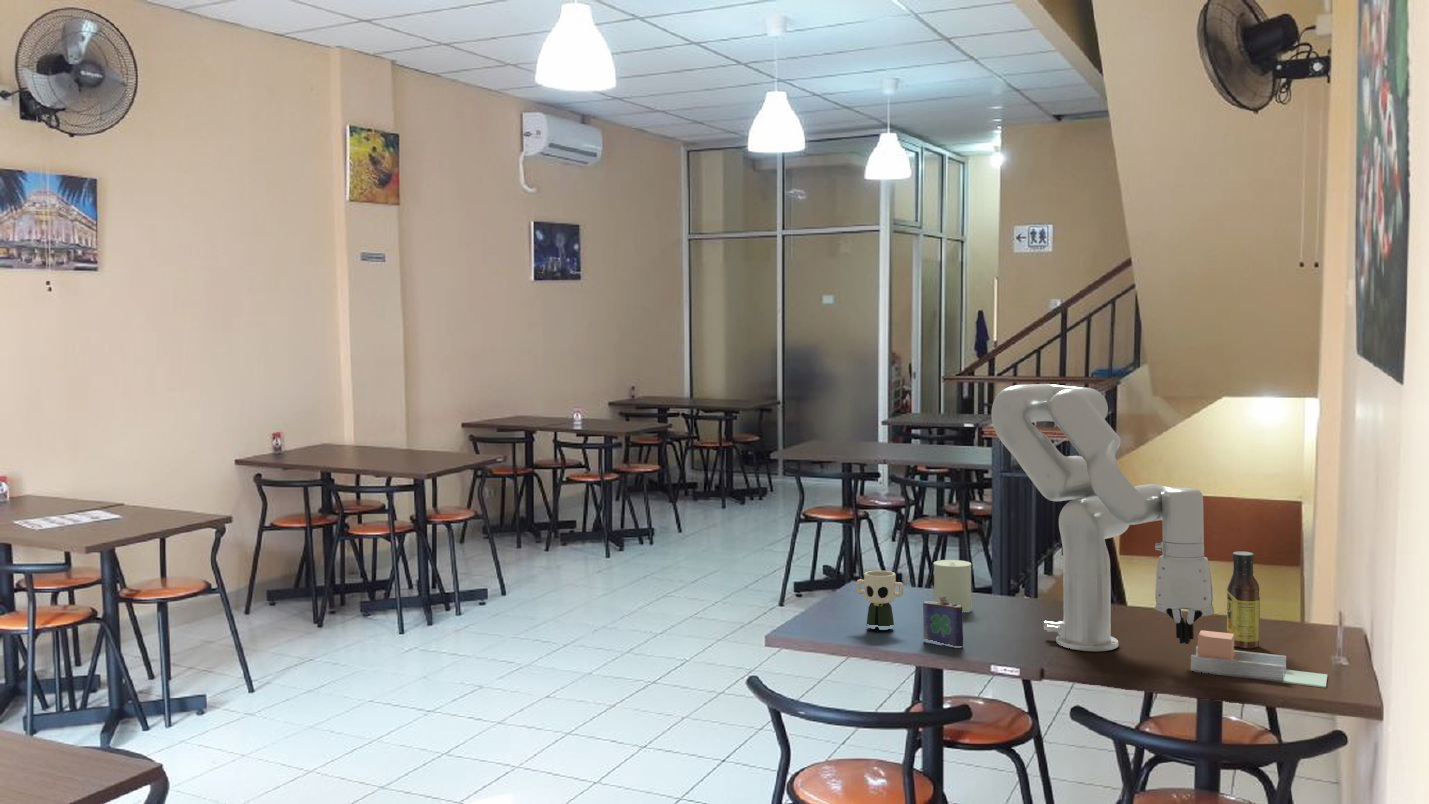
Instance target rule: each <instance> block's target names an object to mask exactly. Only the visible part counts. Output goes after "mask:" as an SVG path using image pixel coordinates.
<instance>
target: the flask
mask: <svg viewBox="0 0 1429 804" xmlns="http://www.w3.org/2000/svg"><path fill="white" fill-rule="evenodd" d="M946 597H947V595H944V596H941V597H939V599H940V602H934V600H932V601H928V600H925V601H924V602H923V603H922V610H923V611H922V615H923V618H922V619H923V620H922V621H923V623H922V624H923V625H922V626H923V627H922V628H923V629H922V630H923V632H922V633H923V634H922V640H923V639H928V640H933V641H937V642H940V643H944V644H950V645H953V646H963V647H964V629H963V626H964V624H963V618H964V617H963V614H962V606H961V605H957V604H956V603H954V604H950V603H951V602H949V601H948V600H946V599H945V598H946Z"/></svg>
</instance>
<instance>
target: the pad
mask: <svg viewBox="0 0 1429 804" xmlns="http://www.w3.org/2000/svg"><path fill="white" fill-rule="evenodd" d="M1327 680H1328V674H1326V673H1320V672H1319V673H1318V672H1309V671H1302V670H1300V671H1299V670H1293V669H1286V672H1285V676H1284V680H1283V684H1291V685H1292V684H1293V685H1300V686H1307V687H1317V688H1322V689H1326V688H1327V682H1328V681H1327Z"/></svg>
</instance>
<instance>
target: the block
mask: <svg viewBox="0 0 1429 804" xmlns="http://www.w3.org/2000/svg"><path fill="white" fill-rule="evenodd" d="M1197 646H1198V655H1199V656H1207V657H1216V658H1225V659H1234V650H1235V646H1234V634H1232V633H1227V632H1221V631H1210V630H1200V632H1199V633H1198V634H1197Z"/></svg>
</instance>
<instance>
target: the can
mask: <svg viewBox="0 0 1429 804" xmlns="http://www.w3.org/2000/svg"><path fill="white" fill-rule="evenodd" d="M933 588H934V589H933V592H934V594H933V595H934V597H933V598H934V600H933V602H940V599H939V597H941V596H944V595H947V597H946V598H945V599H946V600H948V601H949V602H951V603H950V604H954V603H956V604H957V605H961V606H962V611H967V610H970V609H971V608H972V607H973V606H972V563H971V562H970V561H966V560H961V559H959V560H958V559H940V560H936V561H934V562H933ZM972 609H973V608H972Z"/></svg>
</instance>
